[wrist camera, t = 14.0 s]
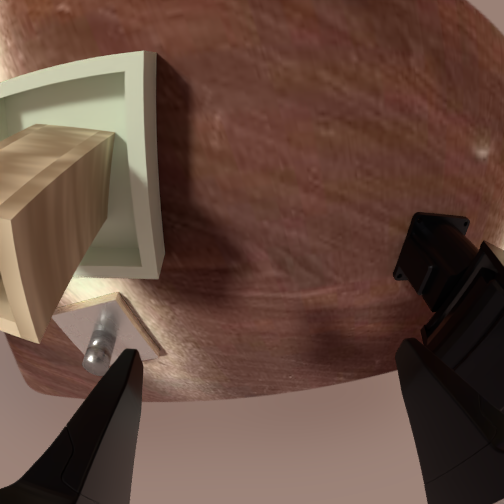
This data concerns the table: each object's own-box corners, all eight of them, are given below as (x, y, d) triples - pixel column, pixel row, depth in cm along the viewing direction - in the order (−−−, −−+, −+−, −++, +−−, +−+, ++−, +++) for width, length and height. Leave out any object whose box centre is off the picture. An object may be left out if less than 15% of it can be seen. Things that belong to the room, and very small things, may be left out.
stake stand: (118, 291, 24) (104, 331, 20) (160, 349, 29) (154, 388, 25) (54, 308, 25) (37, 343, 21) (98, 359, 29) (88, 393, 26)
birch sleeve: (115, 132, 16) (10, 220, 7) (107, 218, 19) (39, 343, 10) (18, 122, 15) (-101, 194, 6) (19, 201, 18) (-68, 300, 9)
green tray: (156, 52, 15) (143, 50, 12) (165, 253, 22) (158, 279, 20) (0, 84, 13) (-26, 92, 11) (32, 251, 21) (17, 273, 19)
